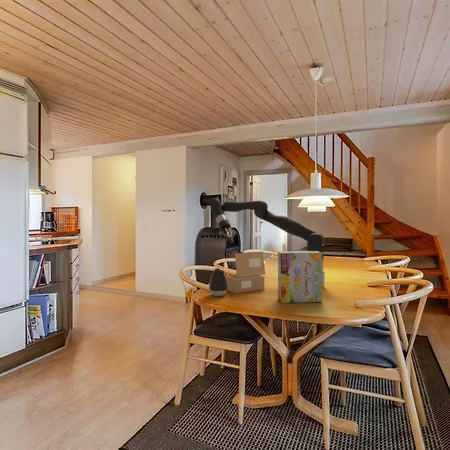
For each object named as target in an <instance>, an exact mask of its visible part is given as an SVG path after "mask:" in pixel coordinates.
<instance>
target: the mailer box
mask: <svg viewBox="0 0 450 450" xmlns="http://www.w3.org/2000/svg"><path fill="white" fill-rule="evenodd" d="M225 277H226V281H227V291H229V292H232V293H234V294H242V293H249V292H250V293H251V292H257V291H263V290H265V275H257V276H248V277H238V278H237V273H235V274H225Z"/></svg>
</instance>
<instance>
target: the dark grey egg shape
mask: <svg viewBox="0 0 450 450" xmlns="http://www.w3.org/2000/svg"><path fill="white" fill-rule="evenodd" d="M225 275H226V274H225V270H223V269H222V268H218V267H217V268H215V269H213V271H212V274H211V276H210V279H209V284H208V290H209V293H210V294H211V295H212V296H213V297H223V296H225V295H226V294H227V291H228V290H227V281H226V277H225Z"/></svg>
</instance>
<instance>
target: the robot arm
mask: <svg viewBox="0 0 450 450" xmlns="http://www.w3.org/2000/svg"><path fill="white" fill-rule="evenodd" d="M209 207H210V210H211V212H213V217H214V218H215V221H216V225H217V226H218V230H219V232H218V235H219V236H221V237H222V238H223V239H225V240H227V241H228V243H229V244H230V245H234V243H235V241H234V238H235V236H236V234H237V231H236V230H233V228H232V227H231V224H230V221H229V218H228V216H227V215H226V214H225V212H227V213H228V212H229V213H238V212H242V211H245V210H251V211H253V214H254V215H255V217H256V218H259V219H260V220H263V221H265V222H266V223H267V222H268V223H269V224H271V225H273V226H275V227H277V229H278V228H279V229H280V230H281V231H283V232H285V233H287V234H290V235H292V236H294V237H297V238H301V239H302V240H304V241H305V242H306V243H307V244H306V248H307V250H306V251H318V252H321V253H322V288H325V283H326V282H325V278H326V277H325V274H326V273H325V271H324V253H323V246H324V245H325V243H326V242H325V239H326V238H325V237H324V235H323V234H321V233H319V232H316V231H315V230H311V229H310V228H308V227H306V226H304V225H303V224H301V223H299V222H297V221H296V220H295V219H293V218H291V217H290V216H287V215H281V214H280V215H278V214H276V213H273V212H271V211H269V210H268V208H269V206H268V203H267V202H266V201H264V200H250V201H229V200H227V201H224V202H223V204H221V201H220V199H218V198H216V197H213V198H211V199H210V201H209Z"/></svg>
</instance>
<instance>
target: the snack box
mask: <svg viewBox="0 0 450 450" xmlns="http://www.w3.org/2000/svg"><path fill="white" fill-rule="evenodd" d="M277 283H278V284H277V293H278V294H277V295H278V296H277V300H278V301H279V302H280V303H281V304H284V303H285V304H287V303H291V304H292V303H295V304H297V303H322V302H323V287H322V253H321V252H318V251H307V250H306V251H305V250H297V251H296V250H295V251H294V250H293V251H290V250H289V251H277Z"/></svg>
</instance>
